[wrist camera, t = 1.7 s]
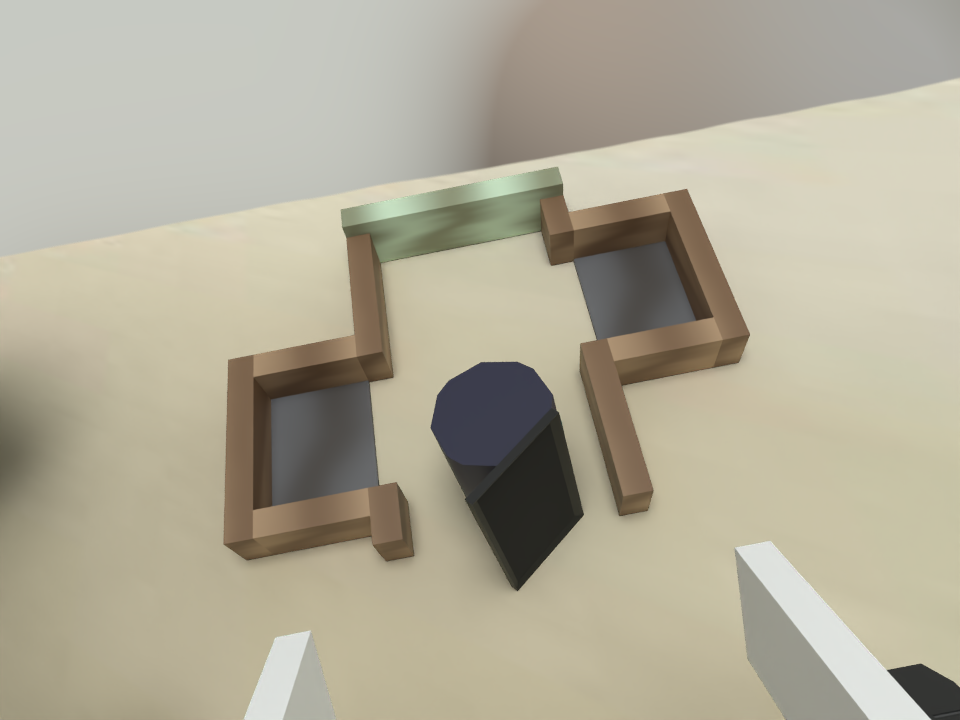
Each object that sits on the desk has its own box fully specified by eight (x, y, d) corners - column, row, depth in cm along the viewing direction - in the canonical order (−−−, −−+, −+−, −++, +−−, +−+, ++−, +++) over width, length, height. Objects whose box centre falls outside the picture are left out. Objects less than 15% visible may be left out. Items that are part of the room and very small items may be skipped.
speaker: (613, 537, 37) (601, 445, 28) (514, 593, 36) (473, 515, 28) (542, 427, 41) (514, 318, 33) (453, 474, 40) (401, 376, 32)
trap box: (246, 588, 38) (214, 568, 34) (249, 271, 49) (224, 232, 45) (788, 483, 37) (810, 452, 34) (666, 188, 48) (674, 143, 45)
